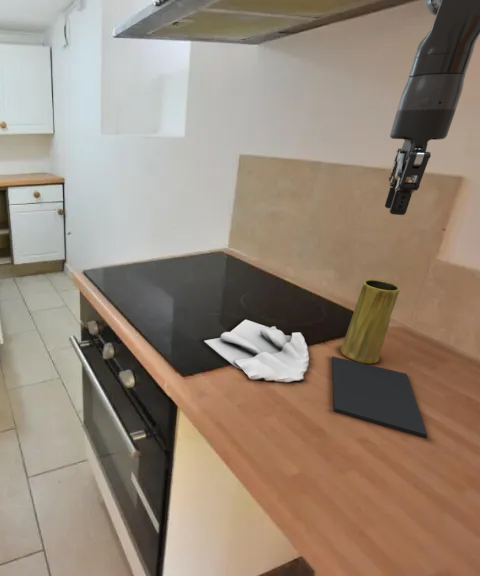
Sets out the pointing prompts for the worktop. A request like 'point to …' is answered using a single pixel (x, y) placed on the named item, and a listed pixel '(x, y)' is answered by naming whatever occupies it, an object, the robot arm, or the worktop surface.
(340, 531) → the worktop surface
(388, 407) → the mat
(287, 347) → the cloth
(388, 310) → the vase
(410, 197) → the robot arm
